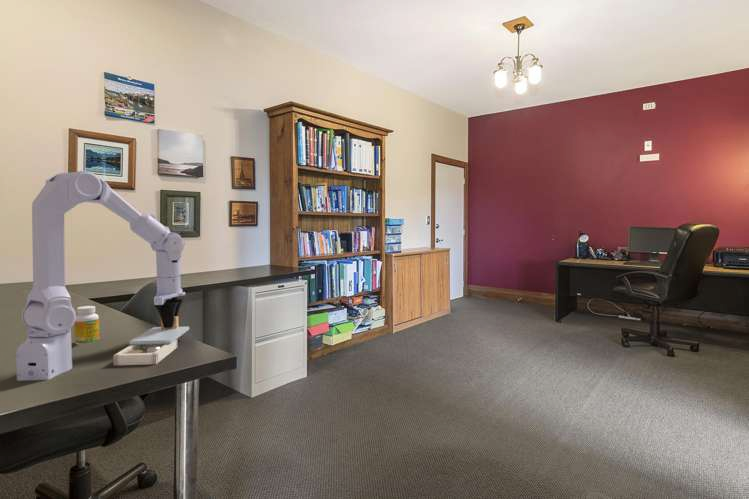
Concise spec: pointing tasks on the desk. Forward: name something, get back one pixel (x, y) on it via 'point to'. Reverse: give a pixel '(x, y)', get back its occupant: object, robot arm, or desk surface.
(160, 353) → the tub
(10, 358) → the desk surface
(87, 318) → the supplement bottle
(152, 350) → the steel bushing
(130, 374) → the desk surface
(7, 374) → the desk surface
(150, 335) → the lid
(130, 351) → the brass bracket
